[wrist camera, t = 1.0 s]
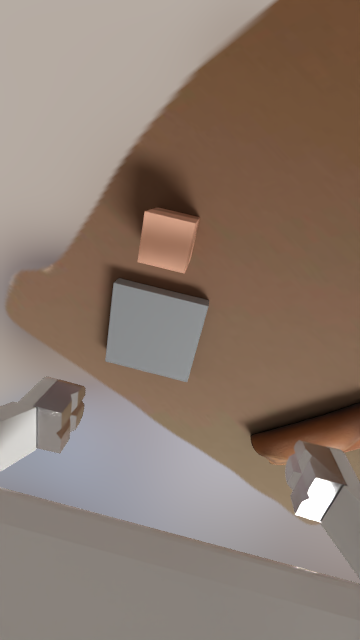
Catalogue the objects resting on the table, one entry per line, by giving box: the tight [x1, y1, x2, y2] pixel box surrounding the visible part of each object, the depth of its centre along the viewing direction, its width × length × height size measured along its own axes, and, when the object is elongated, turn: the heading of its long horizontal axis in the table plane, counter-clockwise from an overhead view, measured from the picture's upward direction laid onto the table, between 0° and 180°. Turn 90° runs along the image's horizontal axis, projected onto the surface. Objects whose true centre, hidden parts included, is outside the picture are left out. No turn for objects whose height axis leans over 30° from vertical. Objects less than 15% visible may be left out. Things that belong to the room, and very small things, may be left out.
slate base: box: [105, 278, 209, 382], centre depth 38 cm, size 12×12×2 cm
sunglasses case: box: [251, 403, 360, 465], centre depth 42 cm, size 18×7×7 cm
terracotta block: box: [138, 207, 200, 273], centre depth 30 cm, size 5×5×6 cm
